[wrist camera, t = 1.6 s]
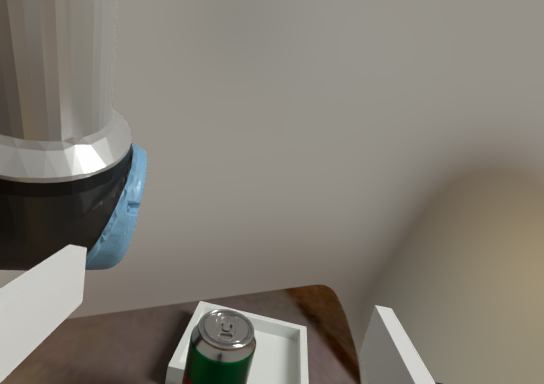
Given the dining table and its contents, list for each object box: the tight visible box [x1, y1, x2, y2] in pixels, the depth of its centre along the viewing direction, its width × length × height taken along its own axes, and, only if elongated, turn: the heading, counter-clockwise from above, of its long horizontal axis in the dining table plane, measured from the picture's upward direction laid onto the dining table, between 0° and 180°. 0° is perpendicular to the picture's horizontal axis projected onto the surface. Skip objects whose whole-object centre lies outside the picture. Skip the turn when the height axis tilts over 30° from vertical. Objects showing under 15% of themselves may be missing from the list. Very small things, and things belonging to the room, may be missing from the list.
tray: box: [165, 301, 308, 384], centre depth 38 cm, size 14×11×2 cm
